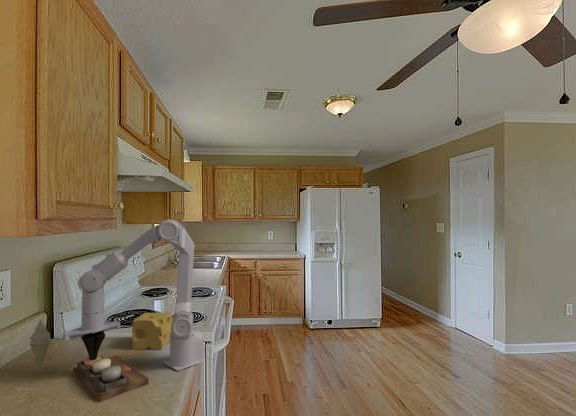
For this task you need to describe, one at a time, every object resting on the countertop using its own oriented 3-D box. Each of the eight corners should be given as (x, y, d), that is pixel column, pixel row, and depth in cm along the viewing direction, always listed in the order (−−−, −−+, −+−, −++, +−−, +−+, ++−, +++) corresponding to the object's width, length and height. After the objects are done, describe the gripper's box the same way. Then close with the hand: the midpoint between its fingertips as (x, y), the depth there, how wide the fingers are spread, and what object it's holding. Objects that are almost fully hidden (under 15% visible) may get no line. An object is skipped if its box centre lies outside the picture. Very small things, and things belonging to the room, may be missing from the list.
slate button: (116, 371, 95) (116, 364, 95) (123, 377, 92) (123, 369, 92) (99, 377, 92) (99, 369, 92) (105, 383, 89) (105, 375, 89)
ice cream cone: (47, 365, 107) (47, 315, 107) (53, 369, 103) (53, 318, 104) (27, 370, 103) (27, 319, 103) (32, 375, 100) (33, 322, 100)
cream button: (107, 364, 100) (107, 357, 100) (113, 369, 97) (113, 361, 97) (90, 369, 97) (90, 361, 97) (95, 374, 94) (95, 366, 94)
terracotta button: (98, 361, 105) (98, 354, 105) (103, 365, 102) (103, 358, 102) (81, 366, 101) (81, 359, 101) (86, 370, 98) (87, 363, 98)
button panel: (116, 360, 110) (116, 350, 110) (148, 384, 95) (148, 372, 95) (72, 373, 101) (72, 362, 101) (100, 401, 86) (100, 389, 86)
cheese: (162, 350, 118) (162, 320, 118) (130, 350, 118) (130, 320, 119) (172, 339, 129) (172, 311, 129) (143, 339, 129) (143, 311, 129)
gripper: (114, 304, 110) (113, 348, 109) (60, 314, 99) (59, 362, 99) (123, 308, 105) (122, 354, 105) (67, 319, 94) (67, 370, 94)
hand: (92, 359), depth 101 cm, fingers closed, pressing on terracotta button
